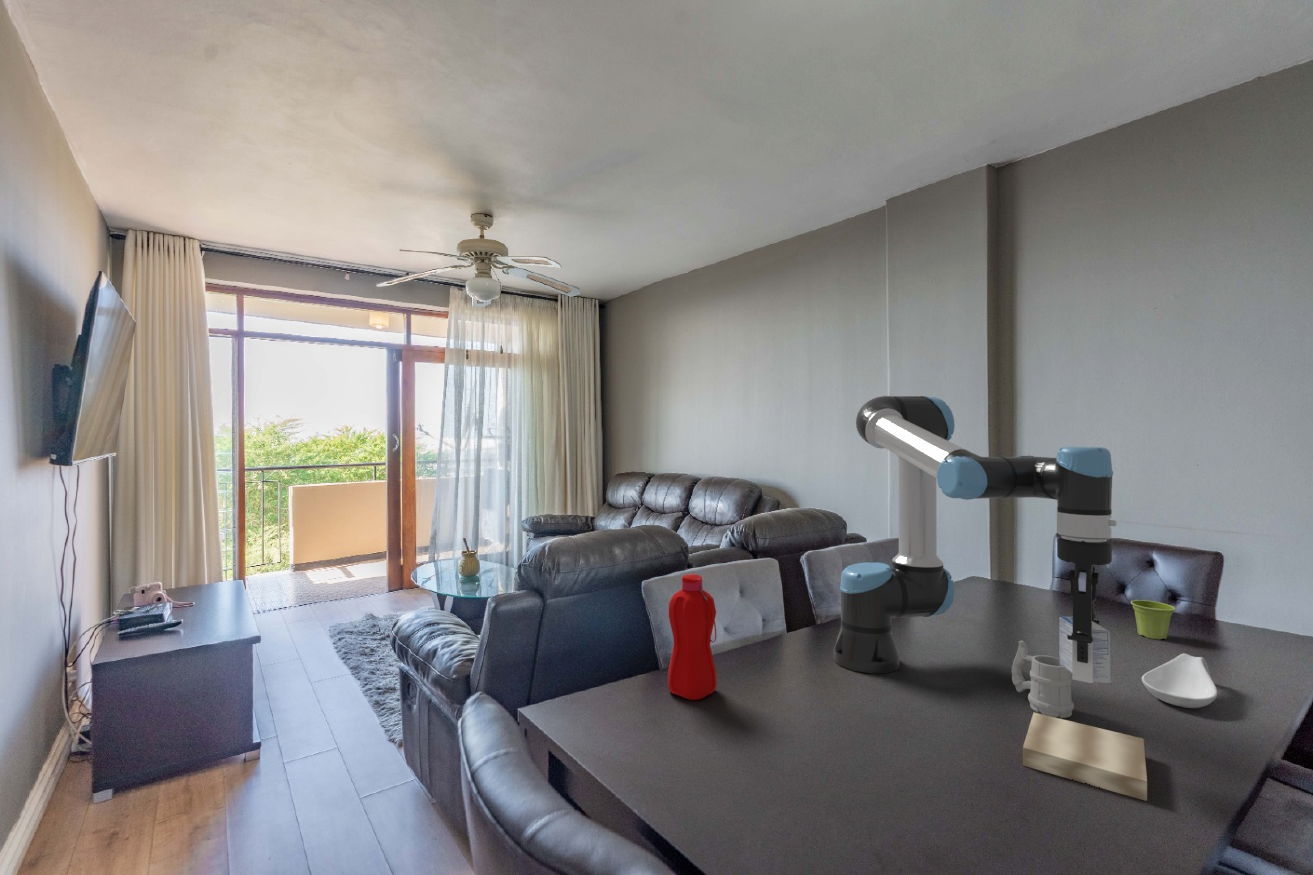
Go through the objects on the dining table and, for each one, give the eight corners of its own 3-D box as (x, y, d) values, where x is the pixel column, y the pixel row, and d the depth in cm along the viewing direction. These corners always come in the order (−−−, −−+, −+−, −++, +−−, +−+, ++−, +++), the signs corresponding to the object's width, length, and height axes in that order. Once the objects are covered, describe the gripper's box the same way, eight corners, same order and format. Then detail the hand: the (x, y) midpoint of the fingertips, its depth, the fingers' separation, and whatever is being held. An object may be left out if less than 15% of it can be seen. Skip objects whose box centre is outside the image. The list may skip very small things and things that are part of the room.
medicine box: (1111, 684, 97) (1111, 631, 97) (1080, 682, 98) (1080, 629, 98) (1086, 666, 104) (1086, 616, 104) (1058, 664, 105) (1058, 615, 105)
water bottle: (702, 707, 121) (702, 584, 121) (661, 692, 128) (661, 575, 128) (728, 693, 127) (728, 576, 127) (689, 679, 135) (689, 568, 135)
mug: (1058, 722, 115) (1058, 659, 115) (1000, 697, 125) (1000, 640, 125) (1082, 714, 118) (1082, 653, 118) (1023, 691, 129) (1023, 635, 129)
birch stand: (1022, 765, 100) (1022, 747, 100) (1033, 728, 112) (1033, 712, 112) (1146, 801, 90) (1147, 781, 90) (1143, 756, 102) (1143, 738, 102)
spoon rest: (1211, 721, 115) (1211, 684, 115) (1135, 700, 124) (1135, 666, 124) (1231, 689, 130) (1231, 656, 130) (1162, 672, 139) (1162, 641, 139)
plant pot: (1171, 634, 165) (1171, 603, 165) (1178, 644, 157) (1178, 611, 157) (1128, 628, 170) (1128, 598, 170) (1133, 637, 163) (1133, 606, 163)
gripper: (1111, 550, 90) (1111, 699, 90) (1112, 532, 107) (1112, 657, 107) (1051, 544, 95) (1051, 686, 95) (1062, 528, 112) (1061, 648, 112)
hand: (1083, 671), depth 101 cm, fingers closed on medicine box, 9 cm apart
